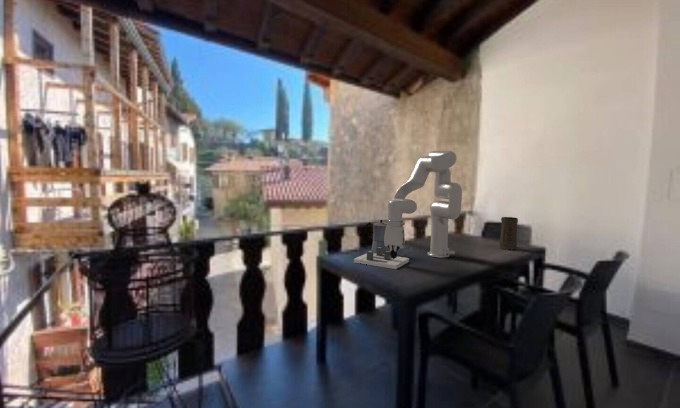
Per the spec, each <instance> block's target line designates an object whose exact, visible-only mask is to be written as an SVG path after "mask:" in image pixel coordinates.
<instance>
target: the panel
mask: <svg viewBox="0 0 680 408" xmlns="http://www.w3.org/2000/svg"><path fill="white" fill-rule="evenodd" d="M409 261H410V258H409V257H403V256H397V257H396V258H395V259H393V258H392V259H389V260H387V259H384V254H383V255H381V256H380V255H376V253H373V259H372V260H367V252H366V253H365V254H363V255H359V256H356V257H355V258H353V264H354V263H356V264H360V263H361V265H362V264H363V265H366V264H367V266H374V267H380V268H385V269H386V268H387V269H393V270H398V268H401V267H402V266H404V265H406V264H408V263H409Z"/></svg>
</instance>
